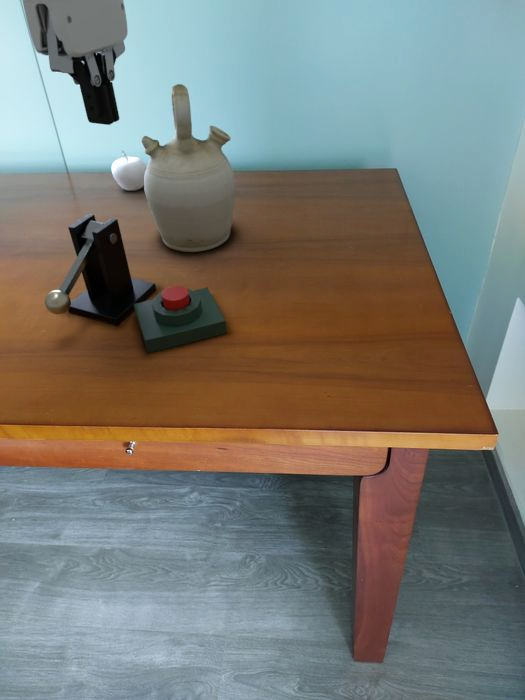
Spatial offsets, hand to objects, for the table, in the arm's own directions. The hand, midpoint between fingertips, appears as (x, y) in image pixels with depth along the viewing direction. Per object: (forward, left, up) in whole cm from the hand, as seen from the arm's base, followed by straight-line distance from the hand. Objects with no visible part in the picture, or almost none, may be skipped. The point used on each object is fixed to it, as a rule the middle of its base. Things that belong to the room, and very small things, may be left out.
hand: (104, 121), depth 59 cm
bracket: (-4, +6, -27) cm, 28 cm away
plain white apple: (+6, +48, -27) cm, 56 cm away
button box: (+4, -4, -27) cm, 28 cm away
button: (+4, -4, -24) cm, 24 cm away
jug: (+13, +21, -27) cm, 37 cm away
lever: (-7, +3, -20) cm, 21 cm away
